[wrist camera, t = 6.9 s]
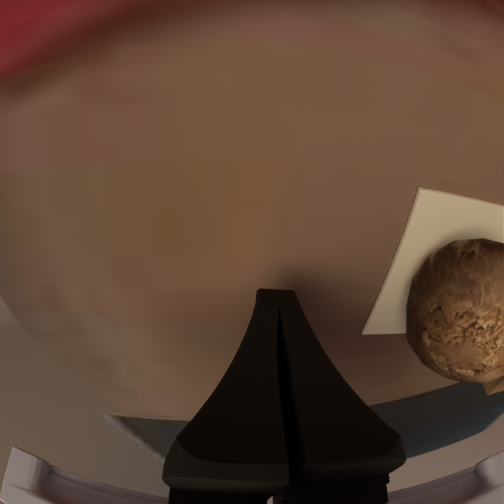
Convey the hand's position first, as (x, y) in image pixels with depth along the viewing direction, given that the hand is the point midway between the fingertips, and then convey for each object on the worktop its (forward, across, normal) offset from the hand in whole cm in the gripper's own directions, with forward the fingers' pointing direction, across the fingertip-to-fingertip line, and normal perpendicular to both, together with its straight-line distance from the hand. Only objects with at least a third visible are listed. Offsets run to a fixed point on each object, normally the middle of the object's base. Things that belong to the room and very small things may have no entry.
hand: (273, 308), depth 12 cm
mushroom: (+3, -10, 0) cm, 10 cm away
